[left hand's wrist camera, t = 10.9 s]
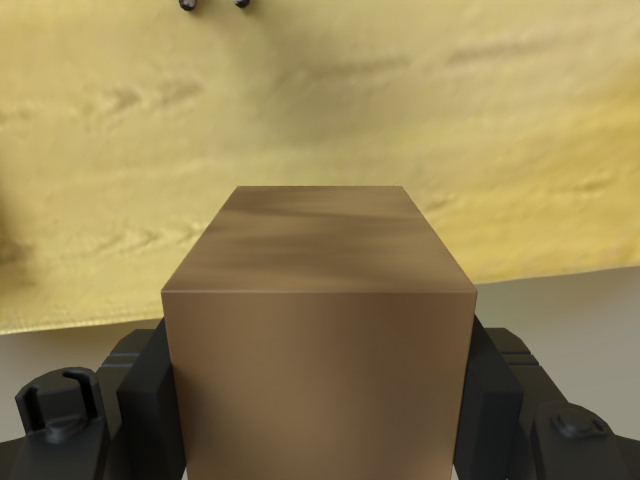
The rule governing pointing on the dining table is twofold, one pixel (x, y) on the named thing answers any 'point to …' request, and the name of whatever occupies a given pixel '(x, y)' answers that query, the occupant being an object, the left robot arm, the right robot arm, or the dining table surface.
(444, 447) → the block
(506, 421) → the left robot arm
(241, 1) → the figurine
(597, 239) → the dining table surface
